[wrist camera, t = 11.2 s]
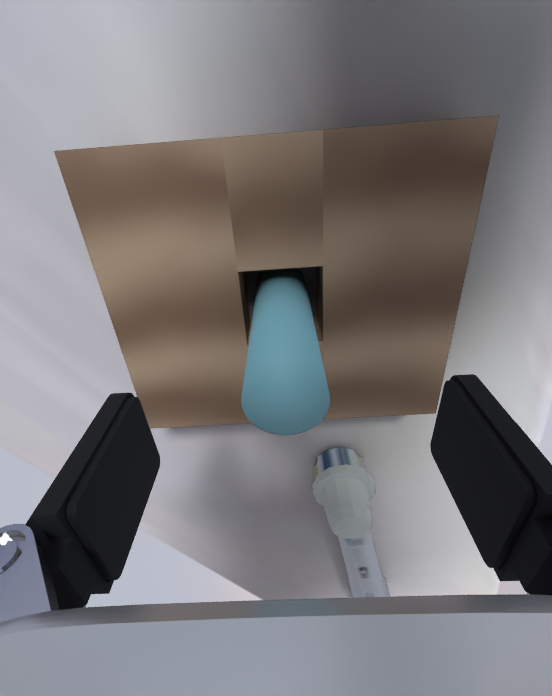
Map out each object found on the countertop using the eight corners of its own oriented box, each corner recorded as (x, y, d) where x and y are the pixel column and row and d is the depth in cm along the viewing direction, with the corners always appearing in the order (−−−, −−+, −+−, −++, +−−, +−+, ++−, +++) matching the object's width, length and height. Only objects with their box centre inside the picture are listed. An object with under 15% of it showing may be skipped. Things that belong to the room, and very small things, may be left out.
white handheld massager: (353, 625, 40) (313, 529, 25) (342, 561, 45) (304, 451, 30) (399, 619, 39) (386, 517, 24) (382, 555, 45) (363, 439, 30)
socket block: (93, 150, 19) (53, 151, 16) (457, 121, 19) (499, 115, 15) (164, 393, 28) (148, 428, 24) (415, 379, 27) (435, 413, 24)
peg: (254, 264, 22) (235, 367, 12) (304, 260, 22) (330, 361, 12) (259, 310, 24) (246, 436, 13) (306, 307, 24) (329, 432, 13)
